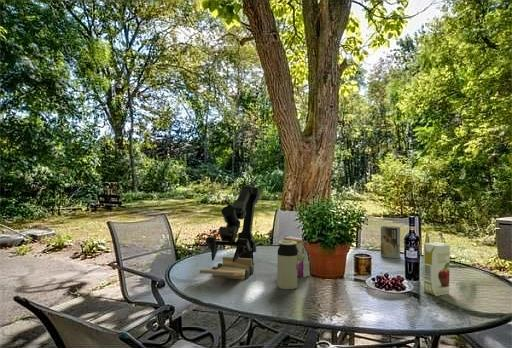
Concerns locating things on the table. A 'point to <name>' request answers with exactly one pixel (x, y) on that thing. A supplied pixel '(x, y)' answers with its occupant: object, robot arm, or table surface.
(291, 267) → the travel mug
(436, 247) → the juice carton
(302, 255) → the spray bottle
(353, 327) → the table surface
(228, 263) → the cart bed
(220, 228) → the robot arm
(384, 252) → the coffee box
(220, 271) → the tailgate
